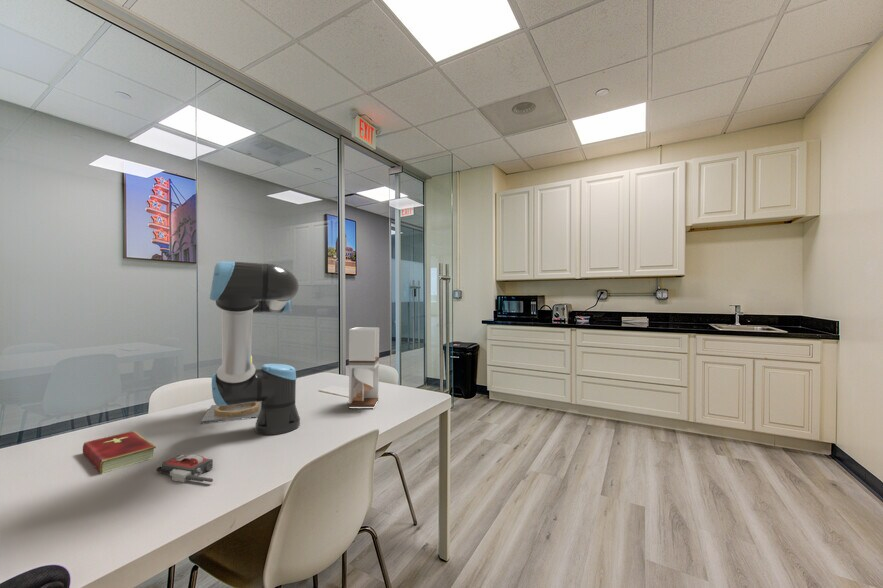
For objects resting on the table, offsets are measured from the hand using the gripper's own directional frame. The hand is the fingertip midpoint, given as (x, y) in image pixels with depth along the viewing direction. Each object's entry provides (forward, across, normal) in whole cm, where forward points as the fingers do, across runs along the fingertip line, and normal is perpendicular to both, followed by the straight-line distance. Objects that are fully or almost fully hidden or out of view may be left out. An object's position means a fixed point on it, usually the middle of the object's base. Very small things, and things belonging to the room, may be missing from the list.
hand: (238, 378), depth 147 cm
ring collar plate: (+14, 0, 0) cm, 14 cm away
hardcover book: (+15, +34, -28) cm, 46 cm away
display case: (+14, +11, +51) cm, 54 cm away
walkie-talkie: (+15, +55, -5) cm, 57 cm away
